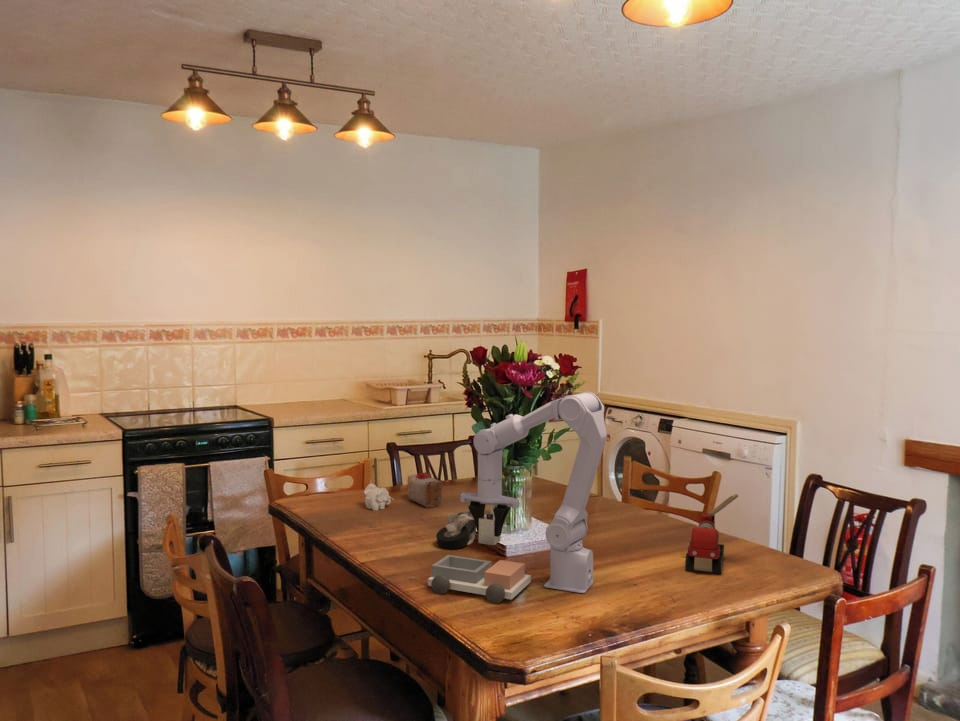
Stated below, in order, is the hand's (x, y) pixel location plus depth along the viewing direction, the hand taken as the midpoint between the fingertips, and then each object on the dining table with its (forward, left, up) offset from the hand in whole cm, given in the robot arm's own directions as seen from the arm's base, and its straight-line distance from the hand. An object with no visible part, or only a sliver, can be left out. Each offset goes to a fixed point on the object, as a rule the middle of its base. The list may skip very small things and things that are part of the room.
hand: (489, 534), depth 195 cm
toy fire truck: (-48, -25, -9) cm, 55 cm away
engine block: (0, 0, -2) cm, 2 cm away
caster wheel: (+15, -15, -9) cm, 23 cm away
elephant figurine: (+53, -37, -9) cm, 65 cm away
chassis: (-3, +13, -8) cm, 16 cm away
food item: (+43, -49, -9) cm, 66 cm away
